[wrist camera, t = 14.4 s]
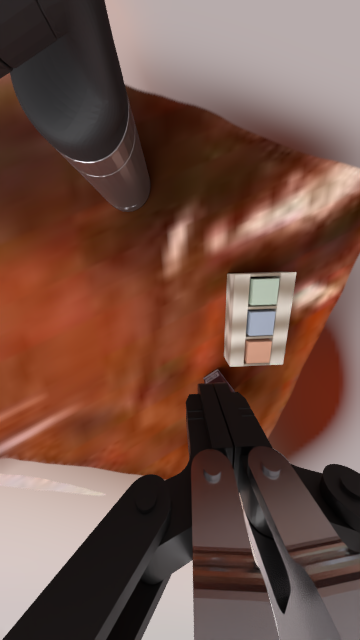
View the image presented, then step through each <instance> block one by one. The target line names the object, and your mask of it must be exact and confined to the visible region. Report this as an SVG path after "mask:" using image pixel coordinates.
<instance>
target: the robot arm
mask: <svg viewBox="0 0 360 640" xmlns="http://www.w3.org/2000/svg"><path fill="white" fill-rule="evenodd" d="M8 73H10V75H11V80H12V83H13V87H14V90H15V93H16V96H17V98H18V100H19V103H20V105H21V107H22V109H23V110H24V112H25V114H26V115H27V117H28V119H29V120H30V121H31V123H32V124H33V126H34V127H35V128H36V129H37V130H38V131H39V133H40V134H41V135H42V136H43V137H44V138H45V139H46V140H47V141H48V142H49V143H50V144H51V145H52V146H53V147H54V148H55V149H56V150H57V151H58V152H59V153H60V154H61V155H62V156H63V157H64V158H65V159H66V160H67V161H68V162H69V163H70V164H71V165H72V166H73V167H74V168H75V169H76V170H77V171H78V172H79V173H80V174H81V175H82V176H83V177H84V178H85V179H86V180H87V181H88V182H89V183H90V184H91V185H92V186H93V187H94V188H95V189H96V190H97V191H98V192H99V193H100V194H101V195H102V196H103V197H104V198H105V199H106V200H107V201H108V202H109V203H110V204H111V205H112V206H113V207H115V208H117V209H118V210H122V211H127V212H129V211H134V210H137V209H139V208H140V207H141V206H143V204H144V203H145V202H146V200H147V198H148V196H149V193H150V178H149V175H148V171H147V166H146V163H145V159H144V155H143V151H142V148H141V144H140V140H139V136H138V133H137V129H136V125H135V122H134V118H133V115H132V111H131V107H130V103H129V100H128V96H127V92H126V89H125V85H124V81H123V76H122V72H121V68H120V65H119V60H118V56H117V52H116V48H115V44H114V41H113V36H112V32H111V28H110V24H109V19H108V14H107V10H106V5H105V1H104V0H0V78H2V77H3V76H5V75H6V74H8ZM186 422H187V436H188V448H189V462H188V464H187V466H186V467H185V469H184V470H183V471H182V472H180V473H179V474H178V475H176V476H174V477H172V478H169V479H167V480H165V481H164V480H163V479H162V478H161V477H159V476H157V475H145V476H142V477H140V478H139V479H138V480H136V481H135V482H134V483H133V484H132V485H131V486H130V487H129V488H128V490H127V491H126V492H125V493H124V494H123V496H122V497H121V498H120V499H119V500H118V502H117V503H116V504H115V505H114V506H113V508H112V509H111V510H110V511H109V512H108V514H107V515H106V516H105V517H104V518H103V520H102V521H101V522H100V523H99V524H98V526H97V527H96V528H95V529H94V530H93V532H92V533H91V534H90V535H89V536H88V538H87V539H86V540H85V541H84V542H83V544H82V545H81V546H80V547H79V548H78V550H77V551H76V552H75V553H74V555H73V556H72V557H71V558H70V559H69V560H68V562H67V563H66V564H65V565H64V566H63V568H62V569H61V570H60V571H59V572H58V574H57V575H56V576H55V577H54V579H53V580H52V581H51V582H50V583H49V584H48V586H47V587H46V588H45V589H44V590H43V592H42V593H41V594H40V595H39V596H38V598H37V599H36V600H35V601H34V603H33V604H32V605H31V606H30V607H29V608H28V610H27V611H26V612H25V613H24V614H23V616H22V617H21V618H20V619H19V620H18V622H17V623H16V624H15V625H14V626H13V628H12V629H11V630H10V631H9V632H8V634H7V635H6V636H5V637H4V638H3V640H141V639H142V637H143V634H144V632H145V630H146V628H147V626H148V624H149V621H150V619H151V617H152V615H153V613H154V611H155V609H156V606H157V604H158V602H159V600H160V598H161V596H162V593H163V591H164V589H165V587H166V585H167V583H168V581H169V579H170V576H171V574H172V573H174V572H175V571H177V570H178V569H180V568H181V567H182V566H184V565H186V564H187V563H189V562H190V561H192V560H193V599H194V600H193V602H194V640H279V638H280V640H360V474H359V473H358V472H356V471H354V470H352V469H350V468H348V467H345V466H342V465H338V464H330V465H327V466H326V467H325V468H324V470H323V474H322V473H319V472H315V471H311V470H307V469H304V468H300V467H297V466H294V465H292V464H290V463H289V461H288V460H287V459H286V458H285V457H284V456H283V455H282V454H281V453H279V452H278V451H276V450H274V449H273V448H272V446H271V444H270V443H269V441H268V439H267V437H266V435H265V433H264V432H263V430H262V428H261V426H260V424H259V422H258V421H257V419H256V417H255V416H254V413H253V411H252V410H251V409H250V406H249V404H248V402H247V401H246V399H245V398H244V397H243V396H242V395H241V394H240V393H238V392H231V391H230V389H229V386H228V384H227V383H226V382H222V383H204V384H198V394H189V396H188V398H187V401H186ZM239 493H240V495H241V498H242V502H243V510H242V506H241V501H240V497H239ZM248 535H249V537H250V541H251V544H252V546H253V550H254V552H255V555H256V558H257V562H258V564H259V567H260V569H259V567H258V566H257V565H256V563H255V561H254V557H253V554H252V550H251V545H250V541H249V537H248ZM267 591H268V592H267ZM268 594H269V596H268ZM269 597H270V599H269ZM270 600H271V603H272V606H273V610H274V613H275V617H276V621H277V624H278V631H279V636H278V632H277V628H276V624H275V620H274V616H273V612H272V607H271V603H270Z"/></svg>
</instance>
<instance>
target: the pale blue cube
mask: <svg viewBox="0 0 360 640" xmlns="http://www.w3.org/2000/svg"><path fill="white" fill-rule="evenodd" d="M275 313H276V312H275V311H273V310H271V309H250V310H248V312H247V325H246V333H247V334H248V335H249V336H257V335H273V329H274V321H275Z"/></svg>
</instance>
